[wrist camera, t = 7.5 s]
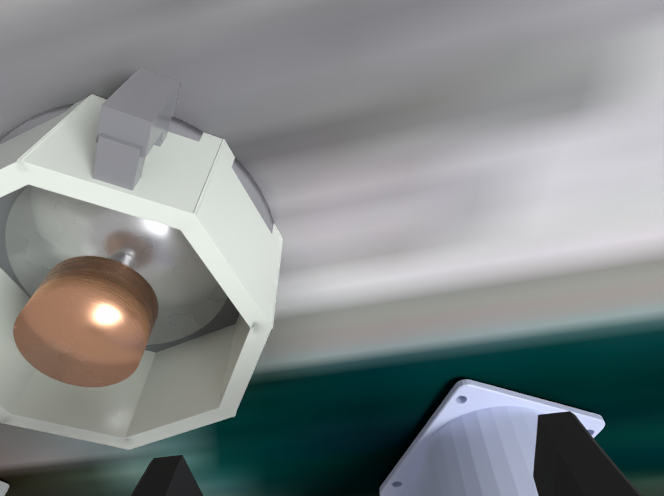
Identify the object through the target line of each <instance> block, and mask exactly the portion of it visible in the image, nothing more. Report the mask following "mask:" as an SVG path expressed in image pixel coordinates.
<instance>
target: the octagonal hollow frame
mask: <svg viewBox="0 0 664 496" xmlns="http://www.w3.org/2000/svg"><path fill="white" fill-rule="evenodd" d="M180 87H181V82H178V81H176V80H173V79H170V78H167V77H164V76H162V75H159V74H156V73H153V72H150V71H148V70H145V69H142V68H139V69H138V70H137V71H136V72H135V73H134V74H133V75H132V76H131V77H130V78H129V79H128V80H127V81H126V82H125V83H123V84H122V85H121V86H120V87H119V88H118V89H117V90H116V91H115V92H114V93H113V94H112V95H111V96H110V97H109V98H108V99H104V98H101V97H98V96H95V95H94V94H93V95H92V94H91V95H90V96H89V97H87V98H85V99H83V100H81V101H79V102H77V103H75V104H71V105H66V106H62V107H58V108H54V109H51V110H49V111H46V112H44V113H41V114H39V115H36V116H34V117H33V118H31V119H29V120H28V121H26V122H24V123H23V124H21V125H20V126H18V127H17V128H16V129H14V130H13V131H12V132H10V133H9V134H8V135H7V136H5V137H4V138H3V139H2V140H1V141H0V423H2V424H8V425H13V426H18V427H23V428H27V429H32V430H37V431H42V432H47V433H51V434H56V435H61V436H66V437H71V438H75V439H80V440H85V441H90V442H95V443H99V444H104V445H109V446H114V447H118V448H123V449H128V450H131V449H133V448H136V447H139V446H143V445H146V444H149V443H152V442H155V441H158V440H161V439H165V438H168V437H171V436H174V435H177V434H180V433H183V432H187V431H190V430H193V429H196V428H199V427H202V426H205V425H208V424H212V423H215V422H218V421H221V420H224V419H227V418H230V417H234V416H236V411H237V409H238V406H239V404H240V402H241V399H242V397H243V395H244V392H245V390H246V388H247V385H248V383H249V381H250V378H251V376H252V374H253V371H254V369H255V367H256V364H257V362H258V359H259V357H260V355H261V352H262V350H263V348H264V345H265V343H266V341H267V338H268V336H269V334H270V331H271V329H273V323H274V314H275V305H276V297H277V288H278V279H279V270H280V262H281V253H282V244H283V237H282V236H281V234H280V232H279V231H278V229H277V227H276V226H275V224H274V221H273V218H272V215H271V212H270V209H269V206H268V204H267V202H266V200H265V198H264V196H263V194H262V192H261V190H260V188H259V187H258V186H257V184H256V183H255V181H254V180H253V178H252V177H251V175H250V174H249V173H248V171H247V170H246V169H245V168H244V167H243V166H242V165H241V163H240V162H239V161H238V160H237V159H236V158H235V157H234V155H233V153H232V152H231V150H230V148H229V147H228V145H227V143H226V140H224V138H223V139H221V138H218V137H215V136H213V135H210V134H207V133H204V132H202V131H200V130H199V129H197V128H195V127H193V126H191V125H189V124H188V123H186V122H184V121H182V120H179V119H177V118H175V117H173V115H174V113H175V109H176V104H177V100H178V95H179V91H180ZM28 185H32V186H35V187H39V188H42V189H46V190H49V191H52V192H56V193H59V194H62V195H66V196H69V197H72V198H76V199H79V200H82V201H86V202H89V203H92V204H96V205H99V206H102V207H106V208H109V209H112V210H116V211H119V212H122V213H126V214H129V215H132V216H136V217H139V218H142V219H146V220H149V221H152V222H156V223H159V224H162V225H166V226H169V227H172V228H176V229H179V230H181V231H182V233H183V234H184V236H185V237H186V238H187V240H188V241H189V243H190V244H191V245H192V247H193V248H194V250H195V251H196V252H197V254H198V255H199V257H200V258H201V259H202V261H203V262H204V264H205V265H206V266H207V268H208V269H209V271H210V272H211V273H212V275H213V276H214V278H215V279H216V280H217V282H218V283H219V285H220V286H221V287H222V289H223V290H224V292H225V293H226V294H227V296H228V297H227V299H226V301H225V304H224V305H223V307H222V308H221V310H220V311H219V313H218V314H217V315H216V316H215V317H214V318H213V319H212V320H211V321H210V322H209V323H208V324H207V325H205V326H204V327H203V328H201V329H200V330H198V331H196V332H195V333H193V334H191V335H188V336H186V337H184V338H181V339H178V340H175V341H171V342H166V343H161V344H151V345H146V348H145V350H144V353H143V355H142V358H141V361H140V363H139V366H138V367H137V369H136V370H135V372H134V373H133V374H132V375H131V376H129V377H128V378H127V379H125V380H123V381H121V382H119V383H117V384H113V385H110V386H105V387H80V386H74V385H70V384H66V383H63V382H60V381H57V380H55V379H53V378H50V377H48V376H47V375H45V374H43V373H41V372H40V371H38V370H37V369H36V368H34V367H33V366H32V365H31V364H30V363H29V362H28V361H27V360H26V359H25V358H24V357H23V356H22V354H21V353H20V351H19V350H18V348H17V346H16V343H15V340H14V335H13V328H14V323H15V321H16V318H17V317H18V315H19V314H20V312H21V311H22V309H23V308H24V307H25V305H26V304H27V302H28V301H29V300H30V298H31V296H30V295H29V294H28V292H27V291H26V290H25V289H24V287H23V286H22V284H21V283H20V281H19V280H18V278H17V276H16V275H15V273H14V271H13V269H12V266H11V264H10V261H9V258H8V255H7V250H6V244H5V229H6V222H7V218H8V215H9V212H10V210H11V208H12V206H13V204H14V202H15V201H16V199H17V198H18V196H19V195H20V194H21V193H22V192H23V191H24V189H25V188H26V187H27V186H28Z"/></svg>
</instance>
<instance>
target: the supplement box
mask: <svg viewBox="0 0 664 496" xmlns="http://www.w3.org/2000/svg"><path fill="white" fill-rule="evenodd" d="M8 488H9V484H7V483H5V482H2V481H0V496H4V495H5V494H6V492H7V490H8Z"/></svg>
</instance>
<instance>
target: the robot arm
mask: <svg viewBox="0 0 664 496" xmlns="http://www.w3.org/2000/svg"><path fill="white" fill-rule="evenodd" d="M459 396H461V397H459ZM604 426H605V422H604V420H603V418H602V416H600V415H598V414H595V413H591V412H587V411H584V410H580V409H576V408H573V407H569V406H565V405H562V404H558V403H554V402H551V401H547V400H543V399H540V398H536V397H532V396H528V395H525V394H521V393H517V392H514V391H510V390H506V389H503V388H499V387H495V386H492V385H488V384H484V383H481V382H477V381H473V380H469V379H464V380H460V381H458V382H457V383H456V384H455V385H454V387H453V388H452V389H451V391H450V392H449V393H448V395H447V396H446V397H445V399H444V400H443V402H442V403H441V404H440V406H439V407H438V408H437V410H436V411H435V412H434V414H433V415H432V417H431V418H430V419H429V421H428V422H427V423H426V425H425V426H424V427H423V429H422V430H421V432H420V433H419V434H418V436H417V437H416V438H415V440H414V441H413V442H412V444H411V445H410V447H409V448H408V449H407V451H406V452H405V453H404V455H403V456H402V458H401V459H400V460H399V462H398V463H397V464H396V466H395V467H394V468H393V470H392V471H391V473H390V474H389V475H388V477H387V478H386V479H385V481H384V482H383V483H382V485H381V486H380V488H379V492H380V496H642V495H641V494H640V493H639V491H638V490H637V489H636V488H635V487H634V486H633V485H632V484H631V482H630V481H629V480H628V479H627V478H626V477H625V475H624V474H623V473H622V472H621V471H620V470H619V468H618V467H617V466H616V465H615V464H614V462H613V461H612V460H611V459H610V458H609V457H608V455H607V454H606V453H605V452H604V450H603V449H602V448H601V447H600V446H599V444H598V443H597V442H596V441H595V439H594V437H595V436H596V435H597V434H598V433H599V432H600V431H601V430H602V429H603V428H604ZM131 496H203V494H202V492H201V491H200V489H199V487H198V485H197V483H196V481H195V479H194V477H193V475H192V473H191V471H190V469H189V467H188V465H187V463H186V461H185V459H184V457H183V455H178V456H169V457H161V458H154V459H153V460H152V461H151V462H150V464H149V466H148V467H147V469H146V471H145V472H144V474H143V476H142V478H141V479H140V481H139V483H138V484H137V486H136V488H135V489H134V491H133V493H132V494H131Z"/></svg>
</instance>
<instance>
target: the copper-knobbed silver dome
mask: <svg viewBox="0 0 664 496" xmlns="http://www.w3.org/2000/svg"><path fill="white" fill-rule="evenodd" d="M5 244H6V250H7V255H8V258H9V261H10V264H11V266H12V269H13V271H14V273H15V275H16V276H17V278H18V280H19V281H20V283H21V284H22V286H23V287H24V289H25V290H26V291H27V292H28V294H29V295H30V296H31V298H30V300H29V301H28V302H27V304H26V305H25V307H24V308H23V309H22V311H21V312H20V314H19V315H18V317H17V318H16V321H15V323H14V328H13V335H14V340H15V343H16V346H17V348H18V350H19V351H20V353H21V354H22V356H23V357H24V358H25V359H26V360H27V361H28V362H29V363H30V364H31V365H32V366H33V367H34V368H36V369H37V370H38V371H40V372H41V373H43V374H45V375H47V376H48V377H50V378H53V379H55V380H57V381H60V382H63V383H66V384H70V385H74V386H80V387H105V386H110V385H113V384H117V383H119V382H121V381H123V380H125V379H127V378H128V377H129V376H131V375H132V374H133V373H134V372H135V370H136V369H137V367H138V366H139V363H140V361H141V358H142V355H143V353H144V350H145V348H146V345H151V344H161V343H166V342H171V341H175V340H178V339H181V338H184V337H186V336H188V335H191V334H193V333H195V332H196V331H198V330H200V329H201V328H203V327H204V326H205V325H207V324H208V323H209V322H210V321H211V320H212V319H213V318H214V317H215V316H216V315H217V314H218V313H219V311H220V310H221V308H222V307H223V305H224V304H225V301H226V299H227V297H228V296H227V294H226V293H225V292H224V290H223V289H222V287H221V286H220V285H219V283H218V282H217V280H216V279H215V278H214V276H213V275H212V273H211V272H210V271H209V269H208V268H207V266H206V265H205V264H204V262H203V261H202V259H201V258H200V257H199V255H198V254H197V252H196V251H195V250H194V248H193V247H192V245H191V244H190V243H189V241H188V240H187V238H186V237H185V236H184V234H183V233H182V231H181V230H179V229H176V228H172V227H169V226H166V225H162V224H159V223H156V222H152V221H149V220H146V219H142V218H139V217H136V216H132V215H129V214H126V213H122V212H119V211H116V210H112V209H109V208H106V207H102V206H99V205H96V204H92V203H89V202H86V201H82V200H79V199H76V198H72V197H69V196H66V195H62V194H59V193H56V192H52V191H49V190H46V189H42V188H39V187H35V186H32V185H28V186H27V187H26V188H25V189H24V191H23V192H22V193H21V194H20V195H19V196H18V198H17V199H16V201H15V202H14V204H13V206H12V208H11V210H10V212H9V215H8V218H7V222H6V229H5Z"/></svg>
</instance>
